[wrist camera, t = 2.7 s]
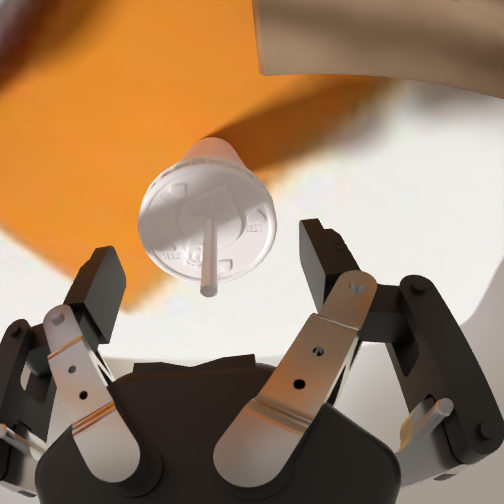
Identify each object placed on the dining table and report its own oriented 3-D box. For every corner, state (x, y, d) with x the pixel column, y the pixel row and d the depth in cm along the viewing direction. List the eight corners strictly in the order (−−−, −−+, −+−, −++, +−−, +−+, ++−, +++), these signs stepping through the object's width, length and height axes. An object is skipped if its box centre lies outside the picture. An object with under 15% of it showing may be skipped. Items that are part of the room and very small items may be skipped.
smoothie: (271, 139, 21) (336, 257, 9) (234, 211, 24) (250, 368, 13) (186, 106, 19) (129, 186, 7) (157, 185, 22) (101, 333, 10)
